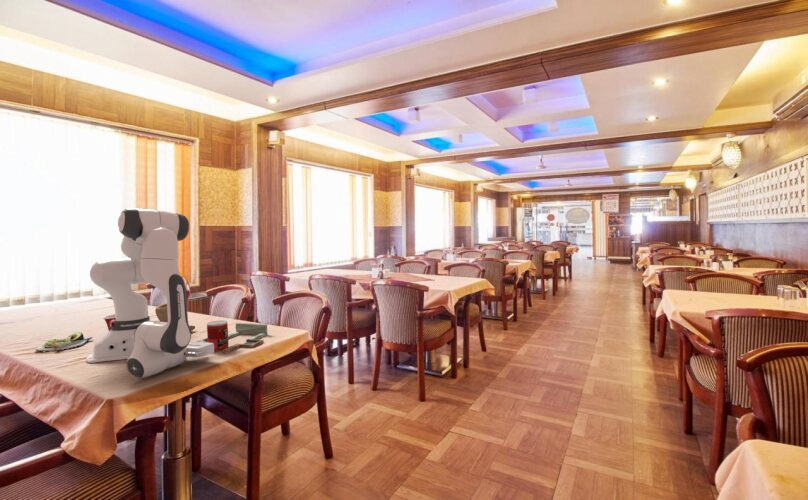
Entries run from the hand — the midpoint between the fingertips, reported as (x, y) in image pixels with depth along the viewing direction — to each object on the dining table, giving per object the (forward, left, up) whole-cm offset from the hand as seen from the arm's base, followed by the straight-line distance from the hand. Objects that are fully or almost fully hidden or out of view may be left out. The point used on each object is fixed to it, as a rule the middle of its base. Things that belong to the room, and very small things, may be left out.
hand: (202, 342), depth 157 cm
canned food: (+6, +6, -5) cm, 10 cm away
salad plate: (-52, +51, -6) cm, 73 cm away
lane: (+12, +12, -5) cm, 18 cm away
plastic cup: (-32, +48, -5) cm, 58 cm away
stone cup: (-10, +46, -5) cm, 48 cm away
